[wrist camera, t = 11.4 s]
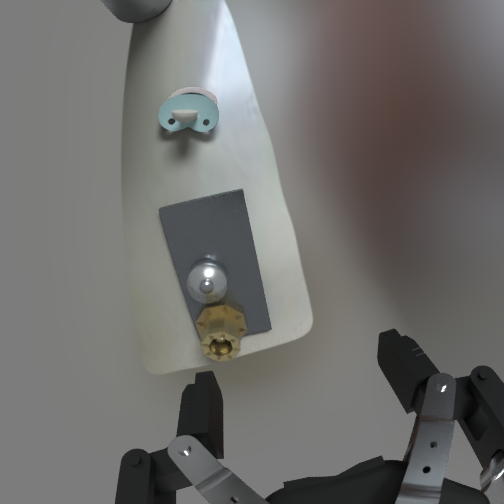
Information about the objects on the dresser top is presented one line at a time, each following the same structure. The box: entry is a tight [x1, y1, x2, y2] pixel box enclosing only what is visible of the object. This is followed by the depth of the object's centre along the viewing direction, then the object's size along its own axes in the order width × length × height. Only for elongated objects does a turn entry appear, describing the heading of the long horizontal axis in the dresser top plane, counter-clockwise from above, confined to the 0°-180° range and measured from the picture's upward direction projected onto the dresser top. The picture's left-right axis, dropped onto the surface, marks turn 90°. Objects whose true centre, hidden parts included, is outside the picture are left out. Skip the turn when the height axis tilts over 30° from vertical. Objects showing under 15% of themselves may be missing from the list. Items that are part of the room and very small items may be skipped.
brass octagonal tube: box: [195, 300, 247, 362], centre depth 39 cm, size 7×7×6 cm
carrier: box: [159, 189, 272, 343], centre depth 38 cm, size 21×11×5 cm, turn 11°
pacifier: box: [158, 87, 219, 132], centre depth 30 cm, size 7×6×6 cm
